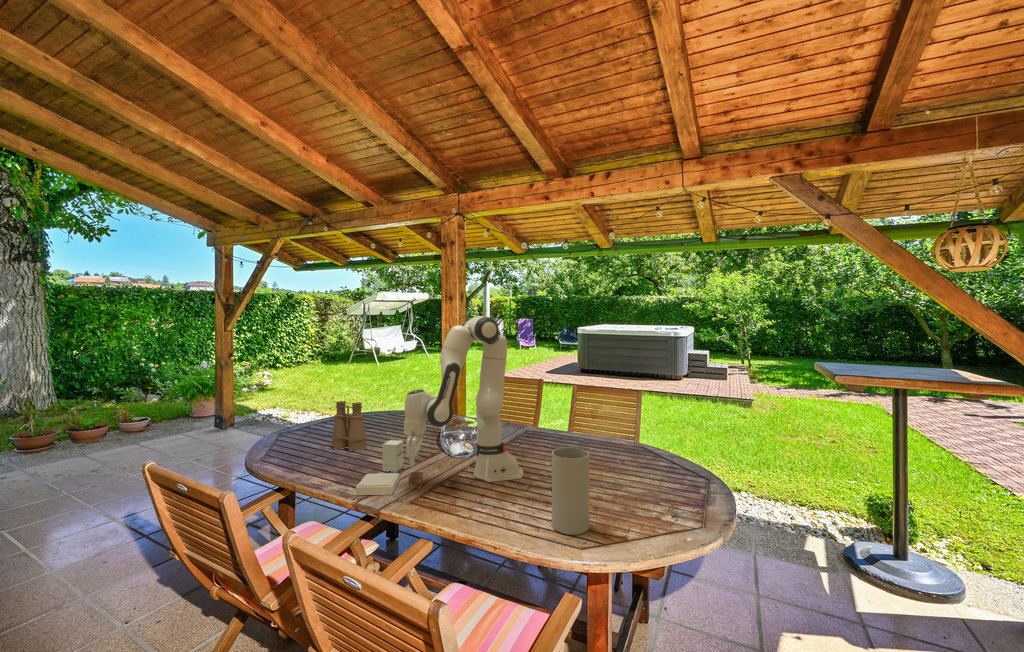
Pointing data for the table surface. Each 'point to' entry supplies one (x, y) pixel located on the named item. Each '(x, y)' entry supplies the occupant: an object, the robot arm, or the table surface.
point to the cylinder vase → (570, 490)
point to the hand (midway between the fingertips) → (414, 461)
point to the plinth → (377, 484)
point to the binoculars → (349, 427)
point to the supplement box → (392, 455)
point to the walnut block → (415, 479)
